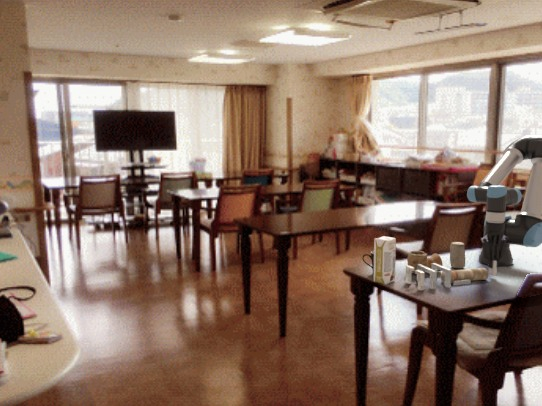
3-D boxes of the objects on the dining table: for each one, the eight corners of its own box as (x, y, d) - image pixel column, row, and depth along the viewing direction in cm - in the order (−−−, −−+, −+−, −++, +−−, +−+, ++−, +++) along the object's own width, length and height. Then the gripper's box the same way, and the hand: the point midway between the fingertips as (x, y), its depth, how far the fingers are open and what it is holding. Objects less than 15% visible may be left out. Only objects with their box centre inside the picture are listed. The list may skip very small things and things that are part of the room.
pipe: (445, 274, 221) (446, 252, 220) (414, 277, 216) (415, 255, 215) (433, 269, 230) (433, 248, 229) (403, 272, 225) (403, 251, 224)
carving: (455, 265, 236) (456, 240, 234) (468, 268, 229) (469, 243, 228) (446, 266, 233) (446, 242, 231) (458, 270, 226) (459, 245, 225)
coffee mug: (393, 273, 223) (393, 252, 221) (383, 277, 216) (384, 255, 215) (371, 269, 230) (371, 248, 229) (361, 273, 224) (361, 251, 223)
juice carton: (397, 281, 211) (398, 237, 209) (386, 285, 206) (387, 240, 203) (382, 277, 217) (382, 235, 214) (371, 281, 211) (371, 238, 208)
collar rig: (455, 277, 216) (456, 261, 215) (472, 284, 205) (473, 267, 204) (405, 282, 209) (405, 265, 208) (420, 290, 198) (420, 272, 197)
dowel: (479, 277, 215) (480, 266, 214) (487, 280, 211) (488, 269, 210) (440, 281, 210) (440, 270, 209) (447, 285, 205) (448, 273, 204)
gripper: (501, 219, 216) (498, 271, 219) (476, 220, 212) (473, 273, 216) (514, 222, 209) (511, 275, 212) (488, 223, 205) (485, 278, 208)
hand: (492, 274), depth 214 cm, fingers closed
